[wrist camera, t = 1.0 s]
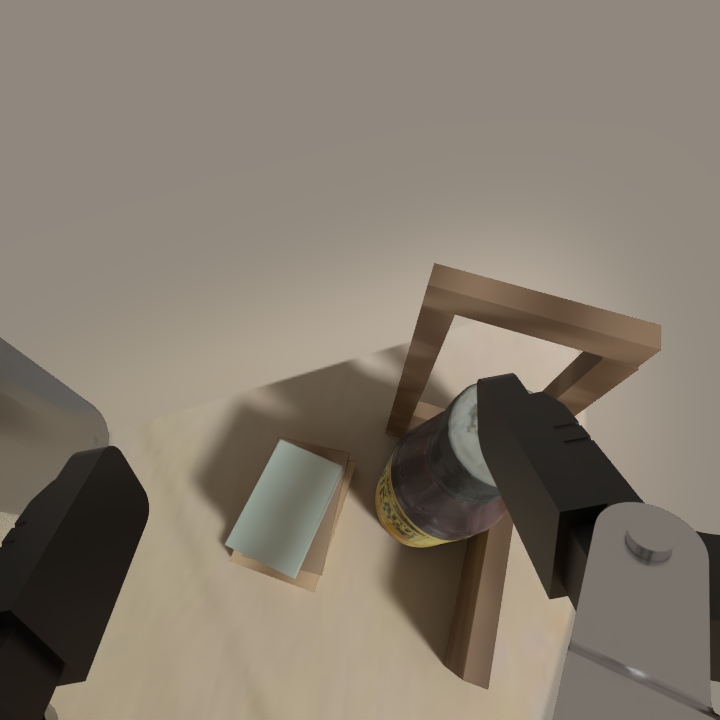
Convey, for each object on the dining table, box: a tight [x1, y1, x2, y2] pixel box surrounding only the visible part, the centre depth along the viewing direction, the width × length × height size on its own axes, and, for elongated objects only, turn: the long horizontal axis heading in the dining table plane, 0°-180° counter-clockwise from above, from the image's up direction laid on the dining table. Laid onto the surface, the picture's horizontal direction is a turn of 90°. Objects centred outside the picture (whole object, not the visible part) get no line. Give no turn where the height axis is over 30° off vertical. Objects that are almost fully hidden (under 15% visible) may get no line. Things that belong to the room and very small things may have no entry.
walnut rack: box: [385, 263, 661, 689], centre depth 24 cm, size 10×15×20 cm, turn 162°
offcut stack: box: [225, 437, 356, 592], centre depth 30 cm, size 6×9×5 cm
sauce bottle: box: [375, 384, 533, 547], centre depth 24 cm, size 6×6×20 cm
